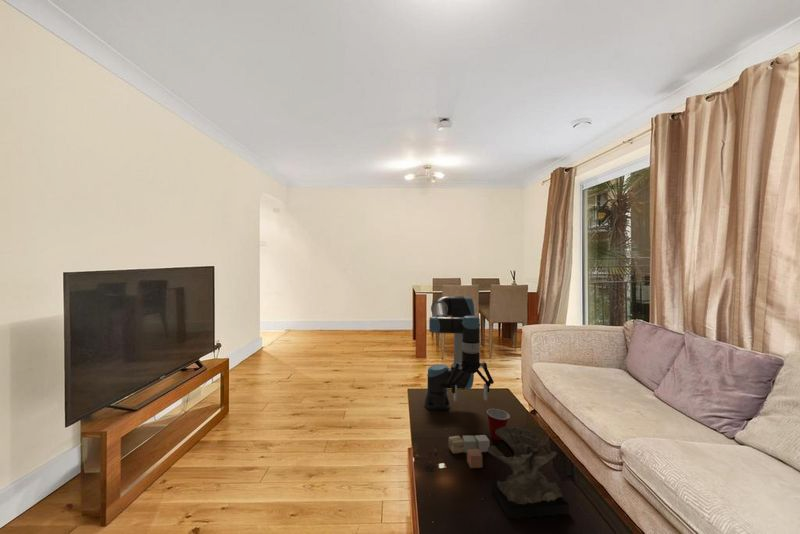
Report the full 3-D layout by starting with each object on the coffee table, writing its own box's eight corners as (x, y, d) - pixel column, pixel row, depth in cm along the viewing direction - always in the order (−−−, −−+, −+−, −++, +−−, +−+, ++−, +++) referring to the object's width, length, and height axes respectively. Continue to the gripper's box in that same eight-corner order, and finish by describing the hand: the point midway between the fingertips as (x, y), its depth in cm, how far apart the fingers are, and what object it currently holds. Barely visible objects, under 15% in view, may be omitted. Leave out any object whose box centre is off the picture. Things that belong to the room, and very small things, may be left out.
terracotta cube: (466, 461, 142) (467, 449, 141) (478, 460, 142) (478, 448, 142) (470, 468, 137) (470, 456, 136) (482, 467, 137) (482, 455, 137)
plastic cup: (511, 444, 155) (511, 418, 155) (487, 442, 156) (487, 417, 156) (507, 432, 165) (507, 408, 165) (485, 431, 167) (485, 407, 167)
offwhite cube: (474, 446, 153) (474, 435, 153) (484, 445, 154) (484, 434, 154) (479, 452, 148) (479, 441, 148) (489, 451, 149) (489, 440, 149)
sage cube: (462, 446, 153) (462, 435, 153) (473, 446, 153) (473, 435, 153) (464, 452, 148) (464, 441, 148) (475, 452, 148) (475, 441, 148)
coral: (497, 520, 109) (498, 455, 109) (477, 479, 129) (478, 424, 129) (570, 515, 111) (571, 452, 111) (539, 477, 131) (540, 422, 131)
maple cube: (448, 447, 152) (448, 436, 151) (458, 446, 153) (458, 435, 153) (453, 453, 147) (453, 442, 147) (463, 452, 148) (463, 441, 148)
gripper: (444, 354, 141) (444, 404, 141) (501, 353, 144) (501, 402, 144) (441, 349, 149) (440, 397, 149) (495, 349, 151) (494, 395, 151)
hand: (470, 399), depth 146 cm, fingers open, 13 cm apart
